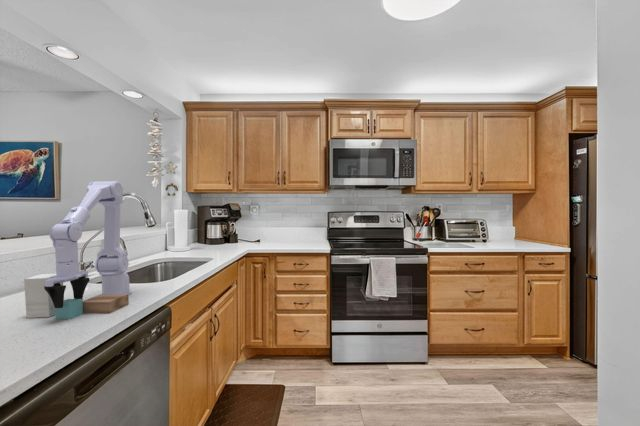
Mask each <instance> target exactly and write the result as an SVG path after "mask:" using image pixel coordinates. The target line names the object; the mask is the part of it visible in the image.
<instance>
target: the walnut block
mask: <svg viewBox="0 0 640 426" xmlns="http://www.w3.org/2000/svg"><path fill="white" fill-rule="evenodd" d="M129 302H130V301H129V294H102V293H101V294H99V295H96V296H94V297H90V298H88V299H85V300H83V314H82V315H86V314H87V315H89V314H91V315H92V314H95V315H97V314H101V315H102V314H103V315H104V314H105V315H106V314H112V313H114V312H116V311H117V310H120V309H122V308H124V306H125V307H126V305H127V306H129V305H130V303H129ZM128 304H129V305H128Z"/></svg>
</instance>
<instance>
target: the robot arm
mask: <svg viewBox="0 0 640 426" xmlns="http://www.w3.org/2000/svg"><path fill="white" fill-rule="evenodd" d="M123 199H124V187H123V186H122V184H121V183H120V182H119V181H118V180H113V181H111V180H110V181H92V180H91V182H89V184H88V185H87V186H86V194H85V196H84V198H83V199H82V201H81V202H80V204H79V205H78V206H73V207H72V208H70V210H69V212H68V213H67V214H66V215H65V217H64V218H63V219H62V220H61V221H60V222H59V223H56V224H55V225H53V226H52V227H51V228H50V232H49V233H48V234H49V238H50V240H51V241H52V246H53V248H54V250H55V252H54V254H55V255H54V256H55V274H56V276H55V277H53V278H50V279H48V280H45V286H44V289H45V290H46V291H47V293H48V294H49V295H50V297H51V299H52V301H53V304H54V307H55V308H63V298H64V299H65V291H66V289H67V285H64V284H65V283H68V282H69V283H70V285H71V288H72V292H73V299H82V300H83V297H84V293H85V290H86V288H87V286H88V284H89V282H90V277H89V271H88V270H81V271H79V269H80V268H79V249H78V247H79V246H78V241H79V240H80V239H81V237H82V234H83V230H84V226H85V224H86V223H87V222H88V221H89V219H90V218H91V213H90V212H91V211H92V210H93V209H94V207H95V206H96V205H97V204H98V203H99V204H100V205H102V206H103V208H104V228H103V230H104V231H103V233H104V234H103V248H102V250H100V251H99V252H98V253H97V254H96V256H97V257H96V260H95V265H94V268H95V270H96V272H97V273H99V275H100V277H101V294H128V295H130V294H132V293H133V291H131V288H130V286H131V285H130V276H129V274H128V273H127V272H126V271H127V270H128V268H129V264H130V263H129V259H128V252H127V251H126V250H124V249H123V248H121V246H120V245H121V241H120V240H121V208H122V207H121V205H122V203H123V201H124V200H123ZM60 283H63V285H62V286H61V285H60Z"/></svg>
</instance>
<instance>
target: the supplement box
mask: <svg viewBox="0 0 640 426" xmlns="http://www.w3.org/2000/svg"><path fill="white" fill-rule="evenodd" d="M55 276H56V273H41V274H36V275H33V276H31V277H26V278H24V279H23V280H24V281H23V283H24V297H25V313H26V315H25V316H26V319H31V318H32V319H33V318H36V319H37V318H50V317H53V316H55V307H54V304H53V301H52V299H51V297H50V295H49V294H48V293H47V291H46V290H45V289H44V286H45V280H48V279H50V278H53V277H55ZM60 285H61V286H62V285H64V283H60ZM63 300H65V297H64V298H63Z"/></svg>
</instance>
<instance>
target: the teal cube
mask: <svg viewBox="0 0 640 426" xmlns="http://www.w3.org/2000/svg"><path fill="white" fill-rule="evenodd" d="M83 301H84V300H83V298H82V299H74V298H67V299H64V300H63V308H55V315H54V316H55V320H72V319H75V318H78V317H79V316H82V315H84V314H83Z"/></svg>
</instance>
